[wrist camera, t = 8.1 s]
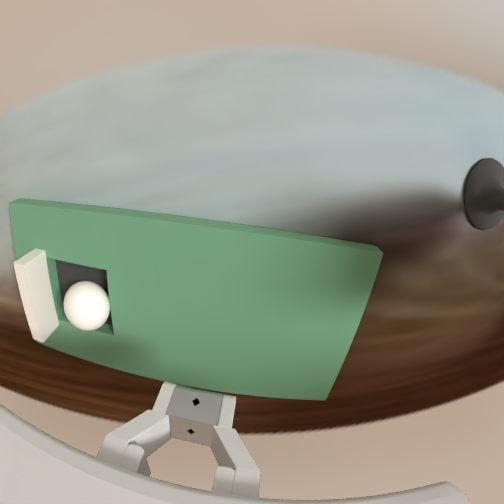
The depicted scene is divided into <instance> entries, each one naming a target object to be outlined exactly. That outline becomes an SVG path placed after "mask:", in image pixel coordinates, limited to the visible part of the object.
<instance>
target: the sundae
mask: <svg viewBox="0 0 504 504" xmlns="http://www.w3.org/2000/svg"><path fill="white" fill-rule="evenodd" d="M465 208H466V212H467V215H468V218H469V219H470V221H471V222H472V223H473V225H474V226H475V227H477V228H479V229H483V230H485V229H490V228H492V227H494V226H495V225H496V224H497V223H499V222H500V221H501V219H502V218H503V216H504V168H503V166H502V165H501V164H500V163H499V162H498V161H496V160H494V159H492V158H486V159H483V160H481V161H479V162H478V163H477V164H476V165H475V166H474V167H473V169H472V170H471V172H470V174H469V176H468V179H467V183H466V187H465Z"/></svg>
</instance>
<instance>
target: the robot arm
mask: <svg viewBox="0 0 504 504" xmlns="http://www.w3.org/2000/svg"><path fill="white" fill-rule="evenodd" d="M223 395H224V394H219V393H214V392H209V391H203V390H197V389H193V388H189V387H185V386H181V385H177V384H173V383H170V382H166V381H165V382H164V383H163V384H162V387H161V389H160V392H159V394H158V397H157V399H156V402H155V404H154V407H153V409H152V410H147V411H145V412H144V413H142V414H140V415H139V416H137V417H135V418H134V419H132V420H130V421H129V422H127V423H125V424H124V425H122V426H120V427H118V428H117V429H115V430H113V431H111V432H110V433H108V434H107V436H106V438H105V440H104V442H103V444H102V446H101V448H100V450H99V452H98V454H97V457H93V456H91V455H89V454H87V453H84V452H82V451H80V450H78V449H76V448H74V447H72V446H70V445H67V444H66V443H64V442H62V441H60V440H58V439H56V438H54V437H52V436H50V435H49V434H47V433H45V432H43V431H41V430H40V429H38V428H36V427H35V426H33V425H31V424H29V423H28V422H26V421H25V420H23V419H22V418H20V417H18V416H17V415H15V414H14V413H12V412H11V411H9V410H8V409H6V408H5V407H4V406H2V405H1V404H0V504H470V501H469V498H468V497H467V495H466V494H464V493H463V492H462V491H461V490H459V489H458V488H457V487H455V486H454V485H453V484H451V483H450V482H447V481H444V482H439V483H435V484H432V485H428V486H424V487H420V488H415V489H410V490H405V491H400V492H395V493H389V494H383V495H376V496H367V497H358V498H347V499H333V500H280V499H263V498H259V485H260V472H261V471H260V469H259V468H258V466H257V464H256V463H255V462H254V460H253V458H252V456H251V455H250V453H249V452H248V450H247V448H246V447H245V445H244V443H243V441H242V440H241V438H240V436H239V435H238V433H237V431H236V429H232V423H233V417H234V410H235V403H236V397H235V396H229V395H224V396H223ZM171 438H176V439H181V440H185V441H190V442H194V443H198V444H202V445H207V446H211V449H212V452H213V454H214V456H215V458H216V460H217V463H218V465H219V467H218V468H217V469H216V473H215V478H214V483H213V488H212V492H210V491H205V490H199V489H195V488H190V487H186V486H181V485H177V484H173V483H169V482H166V481H162V480H158V479H154V478H151V477H150V474H151V472H150V469H149V465H148V462H147V459H146V458H147V457H148V456H150V455H151V454H152V453H153V452H155V451H156V450H157V449H158V448H160V447H161V446H162V445H163V444H164V443H166V442H167V441H168V440H170V439H171Z"/></svg>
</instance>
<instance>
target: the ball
mask: <svg viewBox="0 0 504 504" xmlns="http://www.w3.org/2000/svg"><path fill="white" fill-rule="evenodd" d="M64 312H65V314H66V317H67V318H68V320H69V321H70V323H71V324H72V325H74V326H75V327H77V328H78V329H81V330H86V331H91V330H95V329H97V328H99V327H101V326H102V325H103V324H104V323H105V322H106V320H107V318H108V316H109V312H110V302H109V298H108V296H107V294H106V292H105V291H104V289H103V288H102V287H101V286H99V285H98V284H96V283H94V282H91V281H80V282H77V283H75V284H73V285H72V286H71V287H70V288H69V289H68V291H67V292H66V294H65V297H64Z"/></svg>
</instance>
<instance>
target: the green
mask: <svg viewBox="0 0 504 504" xmlns="http://www.w3.org/2000/svg"><path fill="white" fill-rule="evenodd" d="M9 211H10V221H11V230H12V238H13V245H14V251H15V257H16V261H15V262H14V267H15V272H16V277H17V282H18V286H19V290H20V294H21V298H22V302H23V306H24V310H25V313H26V317H27V320H28V324H29V327H30V330H31V333H32V336H33V339H34V340H36V341H37V342H38V343H40V344H43V345H45V346H48V347H50V348H53V349H56V350H58V351H61V352H64V353H66V354H69V355H72V356H75V357H78V358H81V359H84V360H87V361H90V362H93V363H96V364H100V365H103V366H106V367H110V368H113V369H117V370H120V371H124V372H128V373H132V374H135V375H139V376H143V377H148V378H152V379H156V380H161V381H166V382H170V383H175V384H180V385H185V386H190V387H196V388H202V389H208V390H214V391H220V392H227V393H235V394H243V395H252V396H261V397H272V398H285V399H301V400H326V399H327V397H328V394H329V392H330V390H331V388H332V386H333V384H334V382H335V380H336V377H337V375H338V373H339V371H340V369H341V366H342V364H343V362H344V360H345V357H346V355H347V353H348V350H349V348H350V345H351V343H352V341H353V338H354V336H355V333H356V331H357V328H358V326H359V323H360V320H361V318H362V315H363V312H364V310H365V307H366V304H367V301H368V299H369V296H370V293H371V290H372V287H373V284H374V281H375V278H376V275H377V272H378V269H379V266H380V263H381V259H382V256H383V252H382V251H381V250H380V249H379V248H378V247H377V246H375V245H370V244H364V243H358V242H352V241H346V240H340V239H334V238H328V237H322V236H316V235H309V234H303V233H297V232H290V231H284V230H277V229H270V228H264V227H257V226H250V225H243V224H236V223H229V222H222V221H214V220H207V219H200V218H192V217H184V216H177V215H169V214H161V213H153V212H144V211H136V210H128V209H119V208H110V207H101V206H92V205H82V204H72V203H62V202H52V201H41V200H30V199H17V200H15V201H12V202H10V203H9ZM80 281H91V282H94V283H96V284H98V285H99V286H101V287H102V288H103V289H104V291H105V292H106V294H107V296H108V298H109V302H110V312H109V316H108V318H107V320H106V322H105V323H104V324H103V325H102V326H101V327H99V328H97V329H95V330H91V331H86V330H81V329H78V328H77V327H75V326H74V325H72V324H71V323H70V321H69V320H68V318H67V317H66V314H65V312H64V297H65V294H66V292H67V291H68V289H69V288H70V287H71V286H72V285H73V284H75V283H77V282H80Z"/></svg>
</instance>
